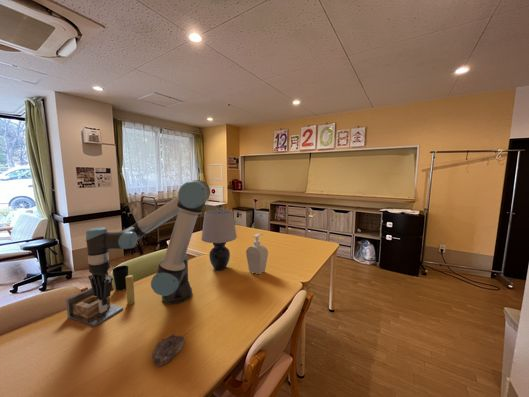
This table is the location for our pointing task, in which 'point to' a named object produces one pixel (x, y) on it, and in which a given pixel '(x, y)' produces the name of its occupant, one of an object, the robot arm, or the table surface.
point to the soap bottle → (257, 256)
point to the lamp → (219, 236)
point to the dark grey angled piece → (94, 319)
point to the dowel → (130, 289)
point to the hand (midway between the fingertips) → (103, 310)
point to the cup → (120, 277)
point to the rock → (167, 349)
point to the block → (88, 306)
